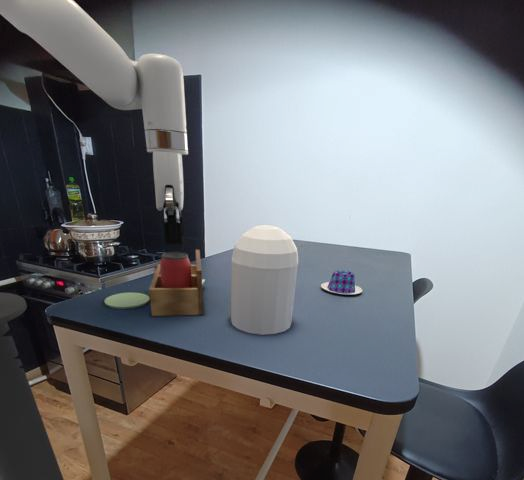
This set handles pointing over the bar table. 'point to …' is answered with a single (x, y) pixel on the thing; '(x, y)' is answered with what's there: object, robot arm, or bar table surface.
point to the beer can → (175, 270)
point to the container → (263, 280)
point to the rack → (177, 294)
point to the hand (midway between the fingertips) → (175, 239)
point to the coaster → (126, 300)
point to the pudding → (342, 283)
